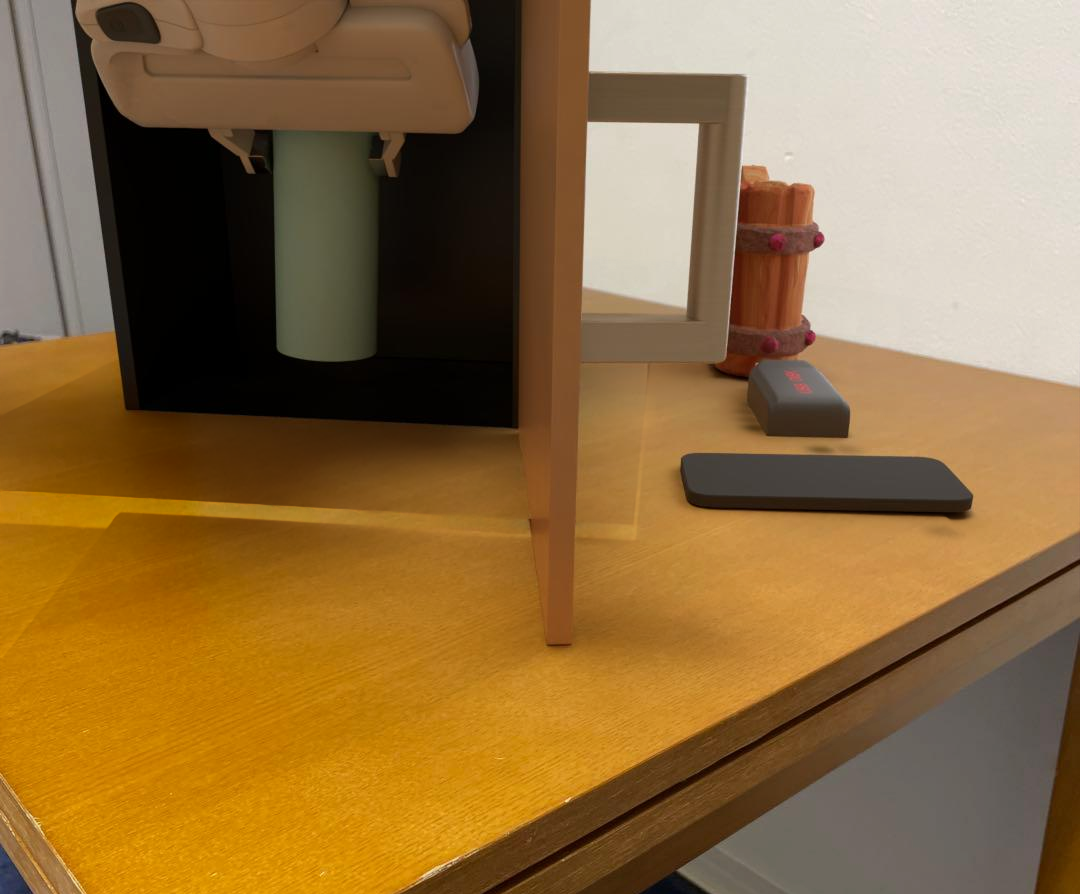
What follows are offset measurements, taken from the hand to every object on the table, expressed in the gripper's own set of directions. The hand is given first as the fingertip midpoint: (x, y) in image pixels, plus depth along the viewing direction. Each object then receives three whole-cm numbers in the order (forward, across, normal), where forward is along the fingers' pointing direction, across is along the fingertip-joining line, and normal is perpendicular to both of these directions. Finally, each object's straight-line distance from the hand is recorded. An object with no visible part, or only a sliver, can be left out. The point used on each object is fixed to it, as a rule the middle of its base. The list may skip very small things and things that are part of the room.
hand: (324, 167), depth 66 cm
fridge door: (-1, -18, +23) cm, 29 cm away
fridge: (+15, 0, +7) cm, 17 cm away
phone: (+4, -30, +18) cm, 35 cm away
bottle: (+8, +1, +8) cm, 11 cm away
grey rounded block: (+16, -30, +7) cm, 35 cm away
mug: (+26, -28, -3) cm, 38 cm away
